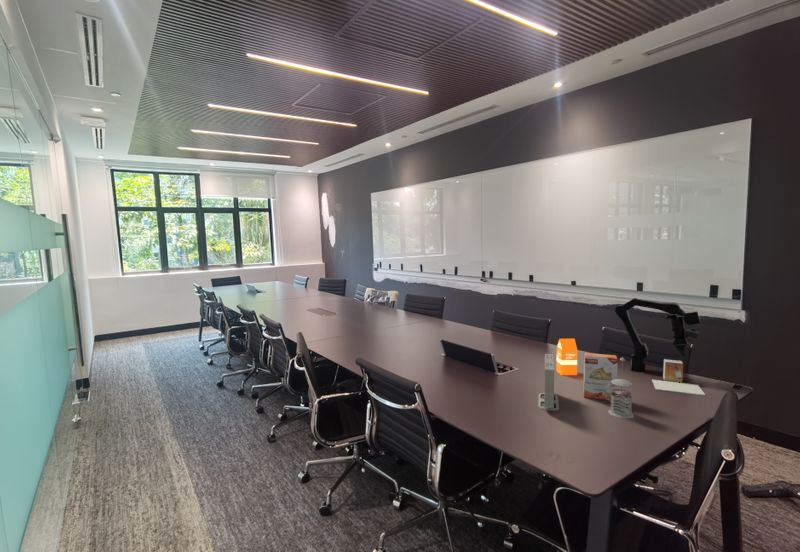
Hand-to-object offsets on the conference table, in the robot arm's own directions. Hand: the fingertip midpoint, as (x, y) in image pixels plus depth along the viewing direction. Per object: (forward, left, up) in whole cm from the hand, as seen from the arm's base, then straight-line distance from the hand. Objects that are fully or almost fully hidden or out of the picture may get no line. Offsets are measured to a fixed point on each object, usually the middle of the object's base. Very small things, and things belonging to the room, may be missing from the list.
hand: (683, 354), depth 212 cm
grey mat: (-6, -19, -13) cm, 24 cm away
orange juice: (-58, -16, -13) cm, 62 cm away
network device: (-64, -63, -13) cm, 90 cm away
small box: (-6, -8, -13) cm, 16 cm away
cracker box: (-42, -48, -13) cm, 65 cm away
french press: (-35, -64, -13) cm, 74 cm away
